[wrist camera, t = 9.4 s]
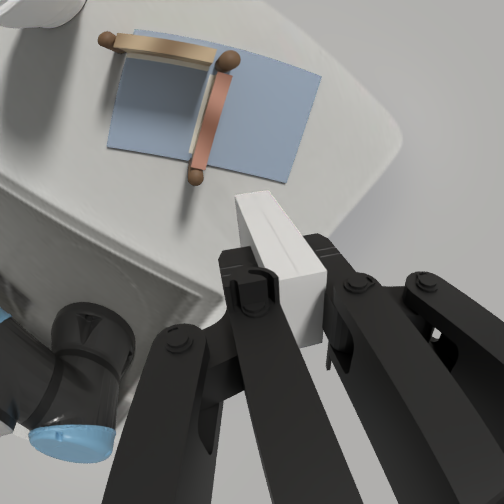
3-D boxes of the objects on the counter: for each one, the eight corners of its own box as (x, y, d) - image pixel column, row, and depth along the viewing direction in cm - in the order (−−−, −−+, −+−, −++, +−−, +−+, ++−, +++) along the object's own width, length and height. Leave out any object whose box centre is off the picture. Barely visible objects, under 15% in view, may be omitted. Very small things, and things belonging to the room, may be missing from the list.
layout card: (107, 146, 34) (106, 146, 34) (135, 29, 27) (134, 29, 27) (285, 182, 41) (286, 183, 40) (320, 76, 34) (322, 76, 34)
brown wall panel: (113, 54, 28) (95, 47, 22) (117, 39, 28) (100, 29, 21) (228, 74, 33) (237, 71, 26) (233, 59, 32) (243, 53, 25)
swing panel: (213, 74, 32) (217, 71, 26) (226, 78, 32) (233, 75, 26) (187, 167, 37) (186, 184, 31) (199, 170, 37) (201, 187, 31)
